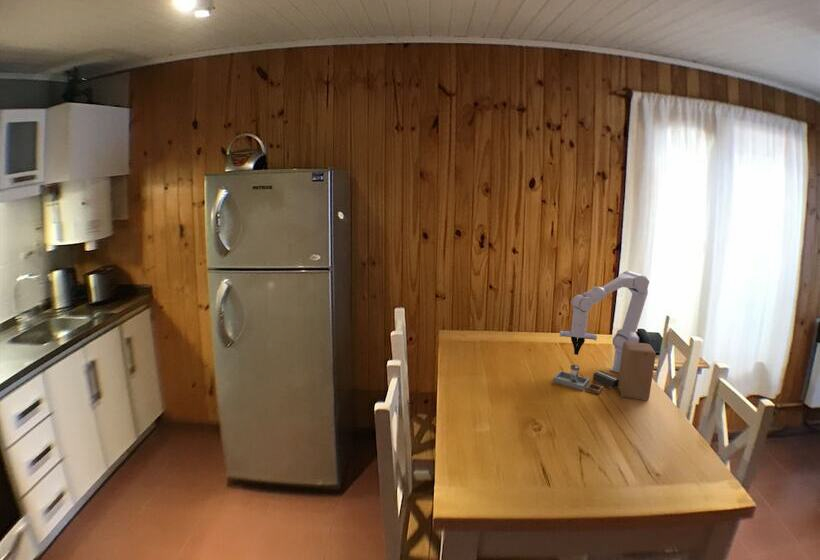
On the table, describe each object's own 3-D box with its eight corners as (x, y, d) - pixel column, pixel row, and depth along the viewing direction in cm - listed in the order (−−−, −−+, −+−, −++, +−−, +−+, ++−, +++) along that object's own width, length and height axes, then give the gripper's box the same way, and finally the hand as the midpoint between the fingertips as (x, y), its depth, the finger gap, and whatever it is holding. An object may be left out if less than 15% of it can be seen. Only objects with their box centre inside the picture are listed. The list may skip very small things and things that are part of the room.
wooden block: (649, 401, 172) (656, 352, 167) (621, 397, 174) (627, 349, 169) (643, 389, 181) (650, 343, 176) (616, 386, 184) (623, 340, 179)
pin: (580, 381, 185) (581, 366, 183) (575, 384, 183) (576, 369, 181) (573, 378, 188) (573, 363, 185) (568, 381, 186) (568, 366, 184)
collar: (602, 389, 180) (603, 386, 180) (599, 394, 176) (599, 391, 176) (589, 386, 183) (590, 382, 183) (586, 390, 179) (586, 387, 179)
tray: (588, 383, 185) (589, 378, 185) (582, 391, 179) (583, 386, 178) (560, 375, 192) (560, 370, 192) (553, 382, 186) (553, 377, 186)
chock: (619, 386, 184) (620, 378, 183) (612, 389, 181) (613, 381, 181) (599, 378, 191) (600, 370, 190) (593, 380, 189) (594, 372, 188)
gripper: (597, 322, 189) (593, 352, 192) (560, 318, 193) (557, 348, 196) (598, 327, 182) (595, 358, 186) (561, 324, 186) (558, 354, 190)
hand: (576, 353), depth 190 cm, fingers closed
